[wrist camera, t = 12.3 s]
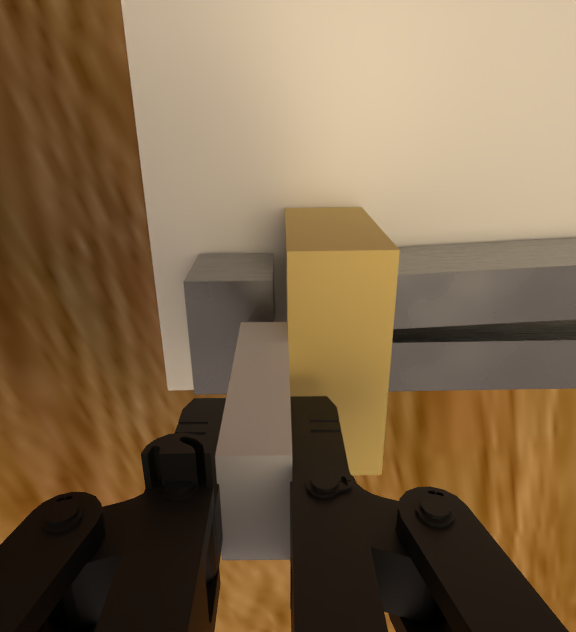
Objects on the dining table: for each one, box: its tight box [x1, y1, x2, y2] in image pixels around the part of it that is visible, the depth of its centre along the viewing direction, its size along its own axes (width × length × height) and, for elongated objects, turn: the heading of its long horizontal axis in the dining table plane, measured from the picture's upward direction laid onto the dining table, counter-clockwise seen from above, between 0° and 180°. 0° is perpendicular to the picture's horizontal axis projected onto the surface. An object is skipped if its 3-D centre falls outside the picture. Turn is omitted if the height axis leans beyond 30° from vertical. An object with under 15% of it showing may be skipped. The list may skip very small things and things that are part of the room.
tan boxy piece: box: [285, 207, 400, 475], centre depth 17 cm, size 3×8×6 cm, turn 1°
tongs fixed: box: [183, 253, 576, 394], centre depth 19 cm, size 28×4×4 cm, turn 90°
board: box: [121, 0, 576, 390], centre depth 20 cm, size 34×16×1 cm, turn 91°
